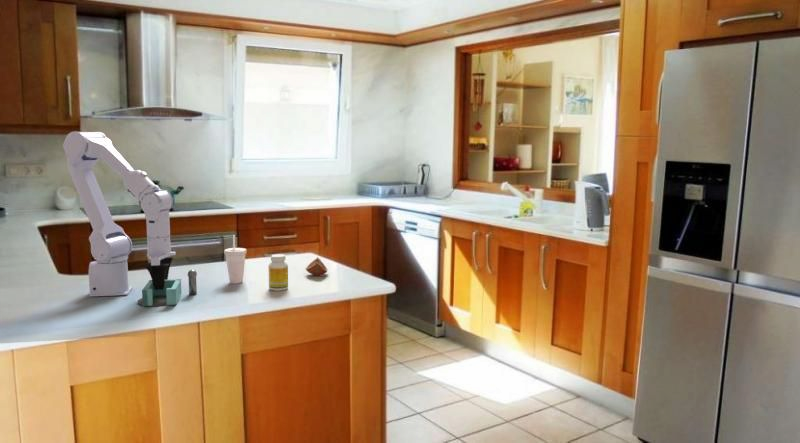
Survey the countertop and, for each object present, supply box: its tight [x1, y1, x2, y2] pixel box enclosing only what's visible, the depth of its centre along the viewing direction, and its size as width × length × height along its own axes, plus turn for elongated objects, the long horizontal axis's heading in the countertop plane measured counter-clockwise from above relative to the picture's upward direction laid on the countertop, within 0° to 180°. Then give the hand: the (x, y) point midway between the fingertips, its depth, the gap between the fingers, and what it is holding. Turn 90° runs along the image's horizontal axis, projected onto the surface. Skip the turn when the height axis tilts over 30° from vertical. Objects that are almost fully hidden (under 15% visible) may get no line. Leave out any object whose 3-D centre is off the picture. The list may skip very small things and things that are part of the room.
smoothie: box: [223, 234, 247, 284], centre depth 185 cm, size 6×6×14 cm
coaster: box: [137, 295, 168, 307], centre depth 165 cm, size 10×10×1 cm
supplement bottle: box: [268, 253, 289, 292], centre depth 178 cm, size 5×5×10 cm
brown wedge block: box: [305, 257, 328, 276], centre depth 196 cm, size 8×7×5 cm
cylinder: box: [187, 269, 198, 296], centre depth 172 cm, size 2×2×7 cm
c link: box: [141, 278, 182, 307], centre depth 165 cm, size 8×11×4 cm
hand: (160, 286), depth 169 cm, fingers open, 6 cm apart
